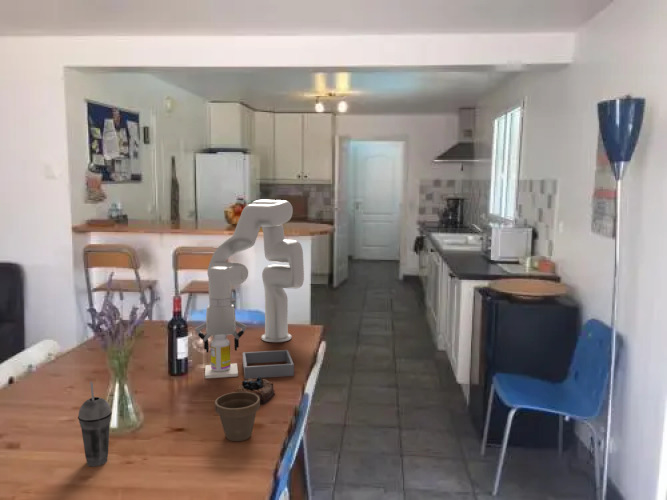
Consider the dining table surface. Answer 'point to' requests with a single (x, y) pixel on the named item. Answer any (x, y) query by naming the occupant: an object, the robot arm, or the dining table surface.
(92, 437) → the beverage cup
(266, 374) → the bin
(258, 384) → the pastry
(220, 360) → the supplement bottle
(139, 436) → the dining table surface
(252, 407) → the flower pot
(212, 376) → the tile
